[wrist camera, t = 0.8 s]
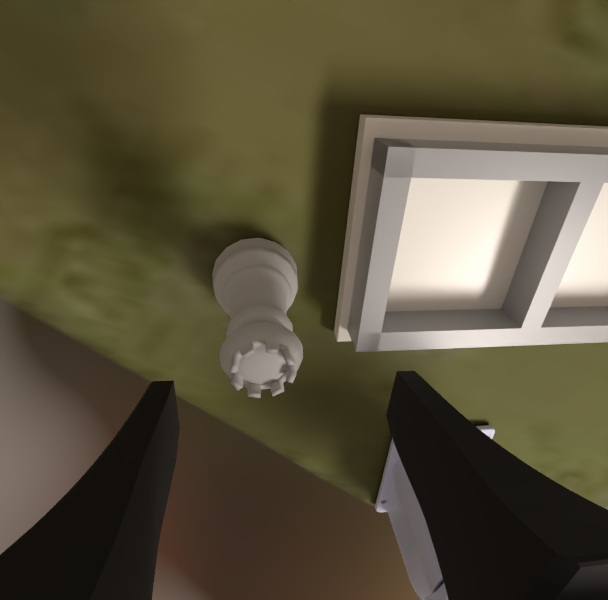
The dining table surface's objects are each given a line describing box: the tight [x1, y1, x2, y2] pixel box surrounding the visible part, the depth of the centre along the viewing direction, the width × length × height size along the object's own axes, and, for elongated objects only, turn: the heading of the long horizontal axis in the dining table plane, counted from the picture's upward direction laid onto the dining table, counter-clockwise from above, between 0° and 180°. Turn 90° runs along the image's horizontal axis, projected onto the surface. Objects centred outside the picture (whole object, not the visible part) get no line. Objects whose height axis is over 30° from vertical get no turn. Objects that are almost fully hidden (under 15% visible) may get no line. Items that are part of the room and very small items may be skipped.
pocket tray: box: [334, 114, 608, 352], centre depth 22 cm, size 12×21×3 cm, turn 87°
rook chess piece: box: [212, 238, 303, 398], centre depth 18 cm, size 4×4×8 cm
